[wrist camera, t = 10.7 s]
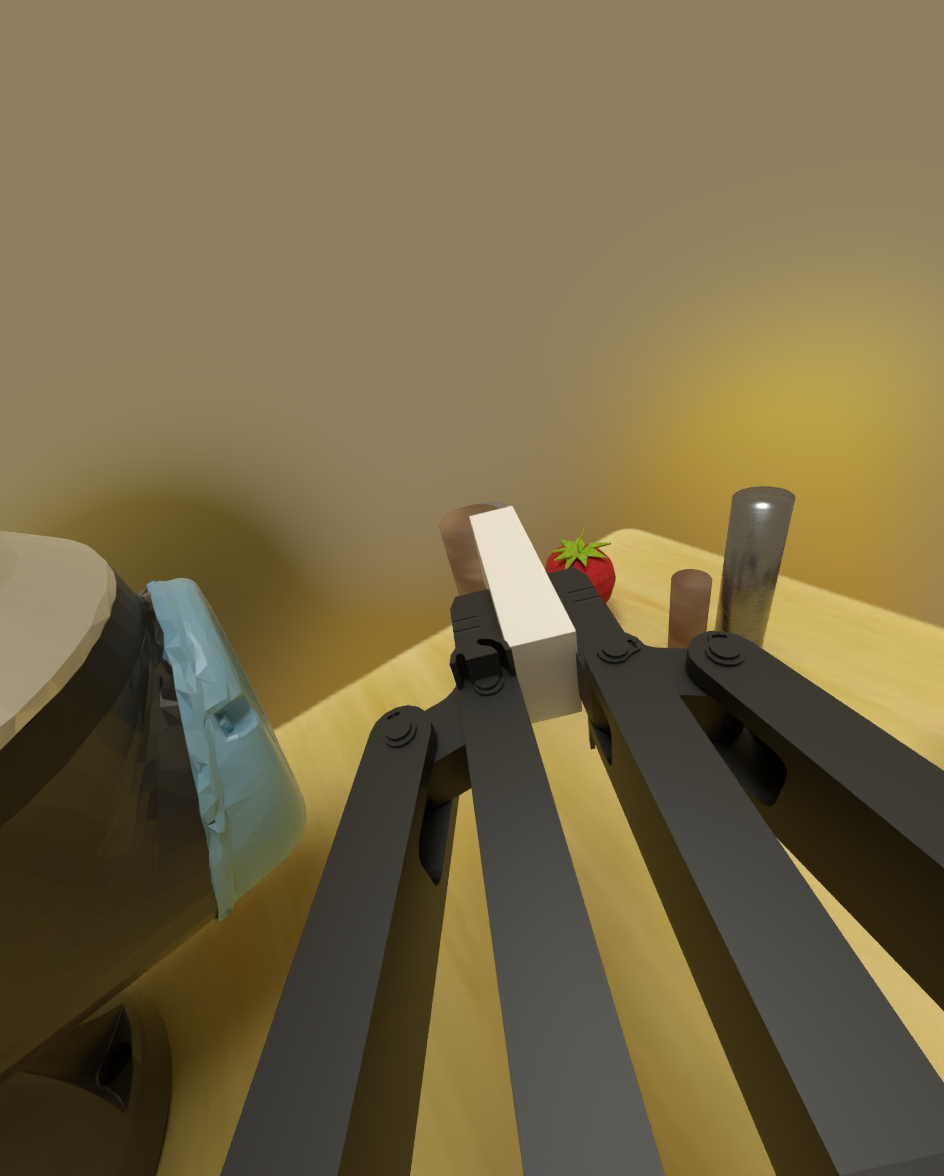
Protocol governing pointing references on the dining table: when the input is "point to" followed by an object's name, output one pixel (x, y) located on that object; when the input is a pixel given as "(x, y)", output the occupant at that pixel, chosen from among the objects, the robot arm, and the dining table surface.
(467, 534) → the brown uneven u-shaped piece
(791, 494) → the hinge post
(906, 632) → the dining table surface
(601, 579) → the strawberry
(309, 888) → the dining table surface
